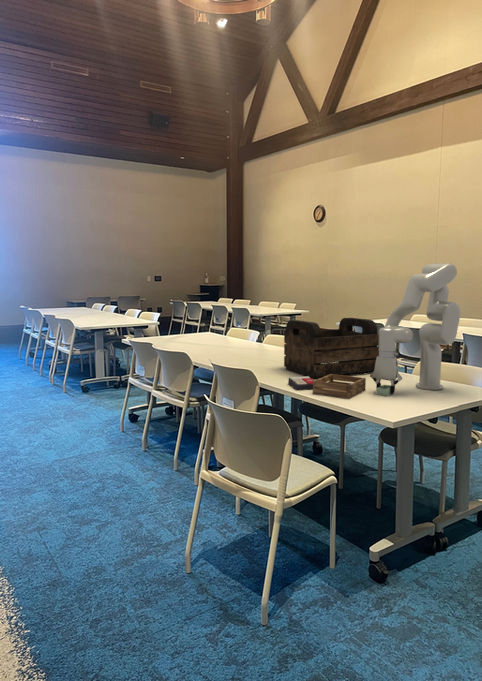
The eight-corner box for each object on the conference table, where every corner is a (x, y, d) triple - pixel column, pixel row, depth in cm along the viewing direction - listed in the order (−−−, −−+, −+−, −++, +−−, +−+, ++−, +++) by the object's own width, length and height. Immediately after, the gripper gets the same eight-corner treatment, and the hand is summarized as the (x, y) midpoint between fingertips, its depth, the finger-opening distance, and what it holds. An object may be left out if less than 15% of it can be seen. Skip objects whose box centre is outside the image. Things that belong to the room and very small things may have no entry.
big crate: (330, 385, 240) (330, 374, 239) (365, 390, 230) (365, 378, 229) (312, 393, 223) (312, 381, 223) (349, 398, 213) (349, 385, 212)
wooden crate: (315, 380, 254) (316, 324, 250) (283, 369, 285) (284, 319, 281) (378, 373, 272) (380, 320, 268) (342, 363, 302) (343, 316, 299)
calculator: (297, 383, 230) (288, 376, 244) (297, 392, 230) (288, 384, 245) (318, 382, 232) (308, 375, 246) (318, 391, 232) (308, 383, 247)
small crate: (383, 390, 229) (383, 384, 228) (394, 392, 226) (394, 385, 225) (376, 394, 220) (376, 388, 220) (387, 396, 217) (387, 389, 217)
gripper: (407, 354, 219) (406, 393, 221) (371, 351, 229) (370, 389, 231) (402, 357, 213) (401, 396, 215) (365, 353, 223) (364, 392, 225)
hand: (385, 392), depth 223 cm, fingers closed on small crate, 5 cm apart
